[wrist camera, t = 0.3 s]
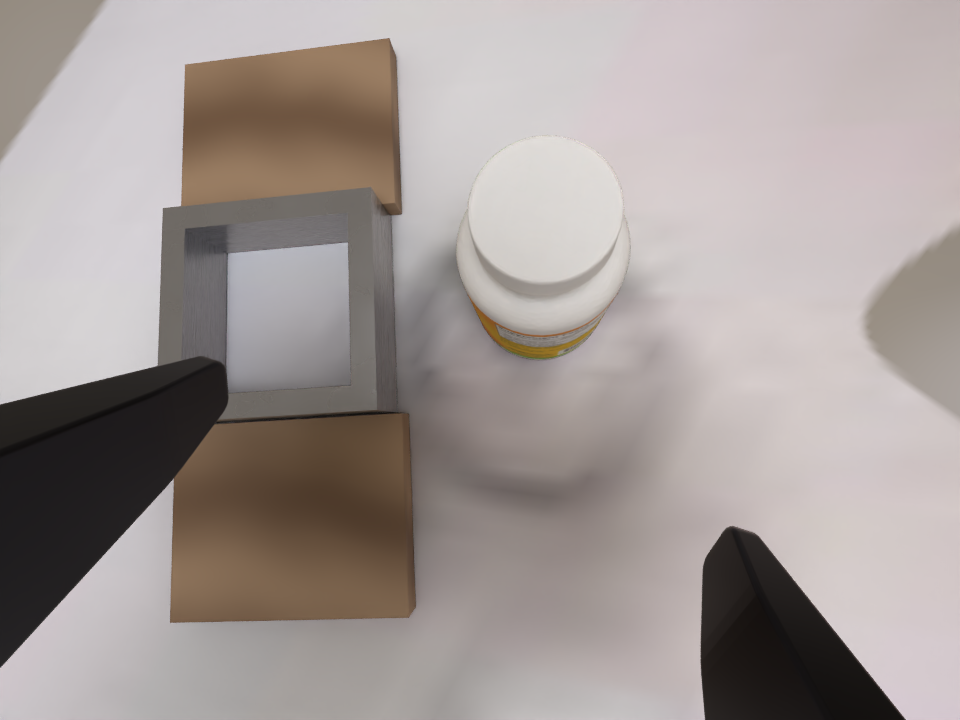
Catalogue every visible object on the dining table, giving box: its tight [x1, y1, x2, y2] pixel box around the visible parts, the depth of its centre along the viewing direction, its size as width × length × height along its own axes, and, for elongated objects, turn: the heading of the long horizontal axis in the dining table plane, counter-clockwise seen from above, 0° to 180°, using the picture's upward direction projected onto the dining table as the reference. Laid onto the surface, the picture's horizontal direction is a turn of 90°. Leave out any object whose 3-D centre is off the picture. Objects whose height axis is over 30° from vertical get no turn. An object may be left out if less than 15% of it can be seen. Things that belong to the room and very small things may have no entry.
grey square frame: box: [158, 187, 398, 423], centre depth 22 cm, size 9×9×3 cm
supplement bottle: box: [456, 135, 631, 360], centre depth 18 cm, size 5×5×10 cm
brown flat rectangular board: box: [170, 38, 416, 623], centre depth 23 cm, size 25×10×1 cm, turn 3°
